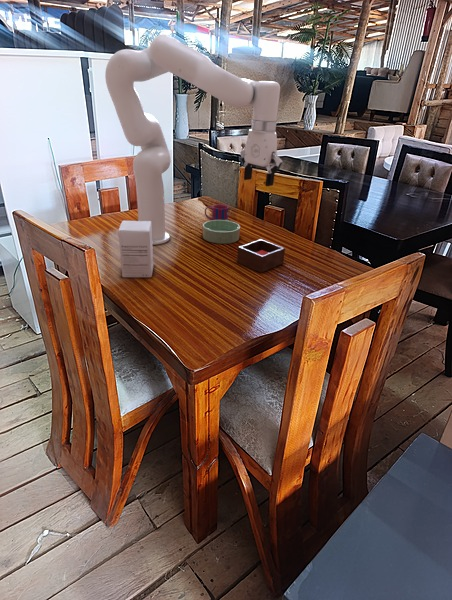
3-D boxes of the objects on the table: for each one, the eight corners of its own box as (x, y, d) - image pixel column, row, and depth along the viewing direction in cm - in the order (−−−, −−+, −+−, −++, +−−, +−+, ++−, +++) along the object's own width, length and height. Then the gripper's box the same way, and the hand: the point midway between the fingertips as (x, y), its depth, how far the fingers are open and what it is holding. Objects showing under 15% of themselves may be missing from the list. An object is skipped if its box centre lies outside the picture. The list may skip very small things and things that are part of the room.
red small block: (259, 264, 131) (260, 256, 130) (251, 261, 133) (252, 253, 132) (268, 261, 134) (269, 252, 133) (261, 257, 136) (262, 249, 135)
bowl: (220, 246, 145) (221, 234, 143) (194, 235, 154) (195, 224, 152) (246, 238, 154) (247, 226, 152) (221, 228, 163) (221, 217, 161)
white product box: (125, 265, 127) (121, 219, 120) (153, 265, 128) (152, 220, 121) (121, 277, 119) (117, 230, 112) (151, 278, 120) (149, 230, 113)
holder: (260, 273, 127) (262, 256, 124) (236, 262, 133) (237, 246, 131) (283, 263, 134) (285, 248, 132) (259, 254, 141) (260, 239, 138)
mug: (225, 225, 165) (226, 209, 162) (202, 222, 168) (202, 206, 164) (229, 221, 171) (230, 205, 168) (207, 218, 173) (207, 202, 170)
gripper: (235, 123, 126) (231, 178, 135) (277, 130, 116) (270, 189, 124) (251, 122, 131) (247, 176, 139) (293, 129, 121) (285, 186, 129)
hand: (258, 182), depth 132 cm, fingers open, 9 cm apart
